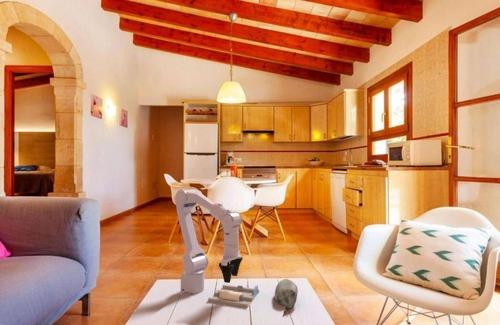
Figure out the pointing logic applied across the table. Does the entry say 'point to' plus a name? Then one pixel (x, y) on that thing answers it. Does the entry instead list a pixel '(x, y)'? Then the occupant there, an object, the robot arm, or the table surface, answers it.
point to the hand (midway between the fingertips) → (230, 279)
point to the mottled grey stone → (286, 293)
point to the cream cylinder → (230, 296)
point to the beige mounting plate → (248, 298)
